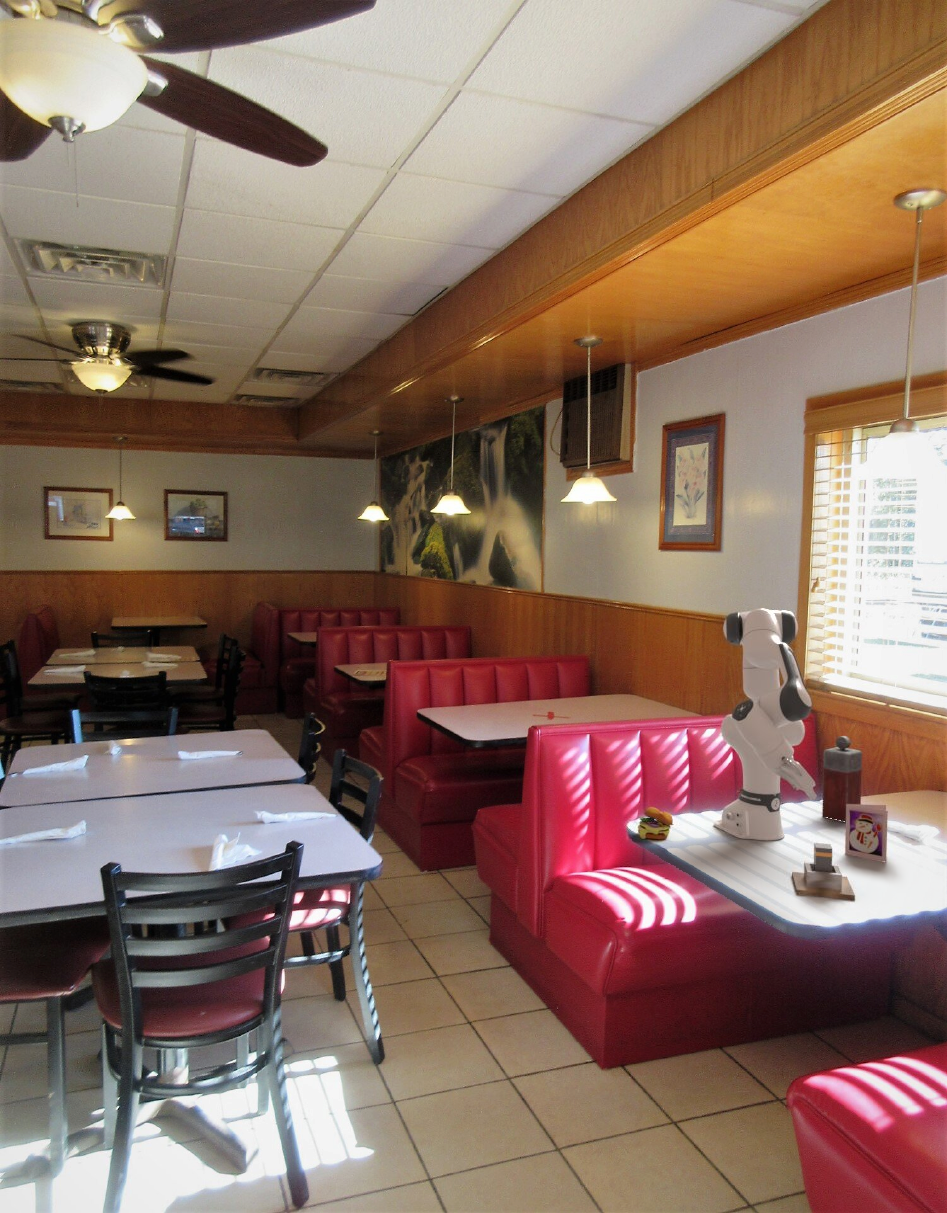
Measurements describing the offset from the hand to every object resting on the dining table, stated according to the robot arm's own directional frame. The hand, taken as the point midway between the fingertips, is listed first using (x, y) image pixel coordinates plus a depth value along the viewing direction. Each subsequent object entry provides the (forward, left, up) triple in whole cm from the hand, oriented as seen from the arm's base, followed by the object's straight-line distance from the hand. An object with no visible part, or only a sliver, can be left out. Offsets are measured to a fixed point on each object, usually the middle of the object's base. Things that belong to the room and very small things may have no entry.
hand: (806, 792), depth 237 cm
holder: (+7, -1, -24) cm, 25 cm away
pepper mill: (-34, +61, -24) cm, 74 cm away
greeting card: (-4, +33, -24) cm, 41 cm away
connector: (+7, -1, -22) cm, 24 cm away
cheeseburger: (-49, -10, -24) cm, 56 cm away
